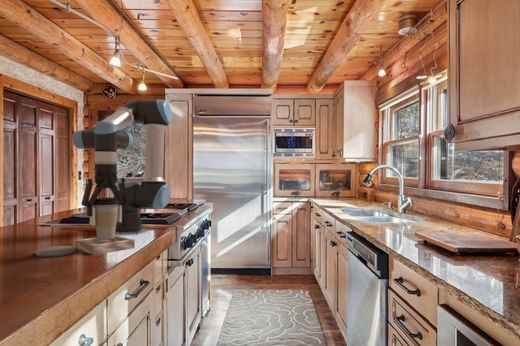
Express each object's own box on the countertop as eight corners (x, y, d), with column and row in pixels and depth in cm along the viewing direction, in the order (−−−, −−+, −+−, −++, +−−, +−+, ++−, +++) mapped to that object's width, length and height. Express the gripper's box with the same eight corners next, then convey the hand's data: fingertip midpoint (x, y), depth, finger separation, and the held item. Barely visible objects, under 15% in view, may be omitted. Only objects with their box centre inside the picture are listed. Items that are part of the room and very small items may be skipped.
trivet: (67, 247, 129) (67, 244, 129) (81, 252, 121) (81, 249, 121) (30, 253, 120) (30, 249, 120) (42, 258, 112) (42, 255, 112)
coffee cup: (94, 236, 132) (94, 197, 132) (120, 235, 135) (120, 197, 135) (90, 241, 123) (90, 199, 123) (118, 240, 126) (118, 199, 126)
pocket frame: (115, 242, 139) (115, 235, 139) (134, 247, 130) (134, 239, 130) (75, 248, 128) (75, 240, 128) (93, 254, 118) (93, 246, 118)
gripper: (128, 163, 140) (128, 219, 140) (70, 163, 123) (70, 226, 123) (138, 163, 135) (138, 221, 135) (79, 163, 118) (79, 228, 118)
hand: (106, 223), depth 129 cm, fingers closed on coffee cup, 9 cm apart
